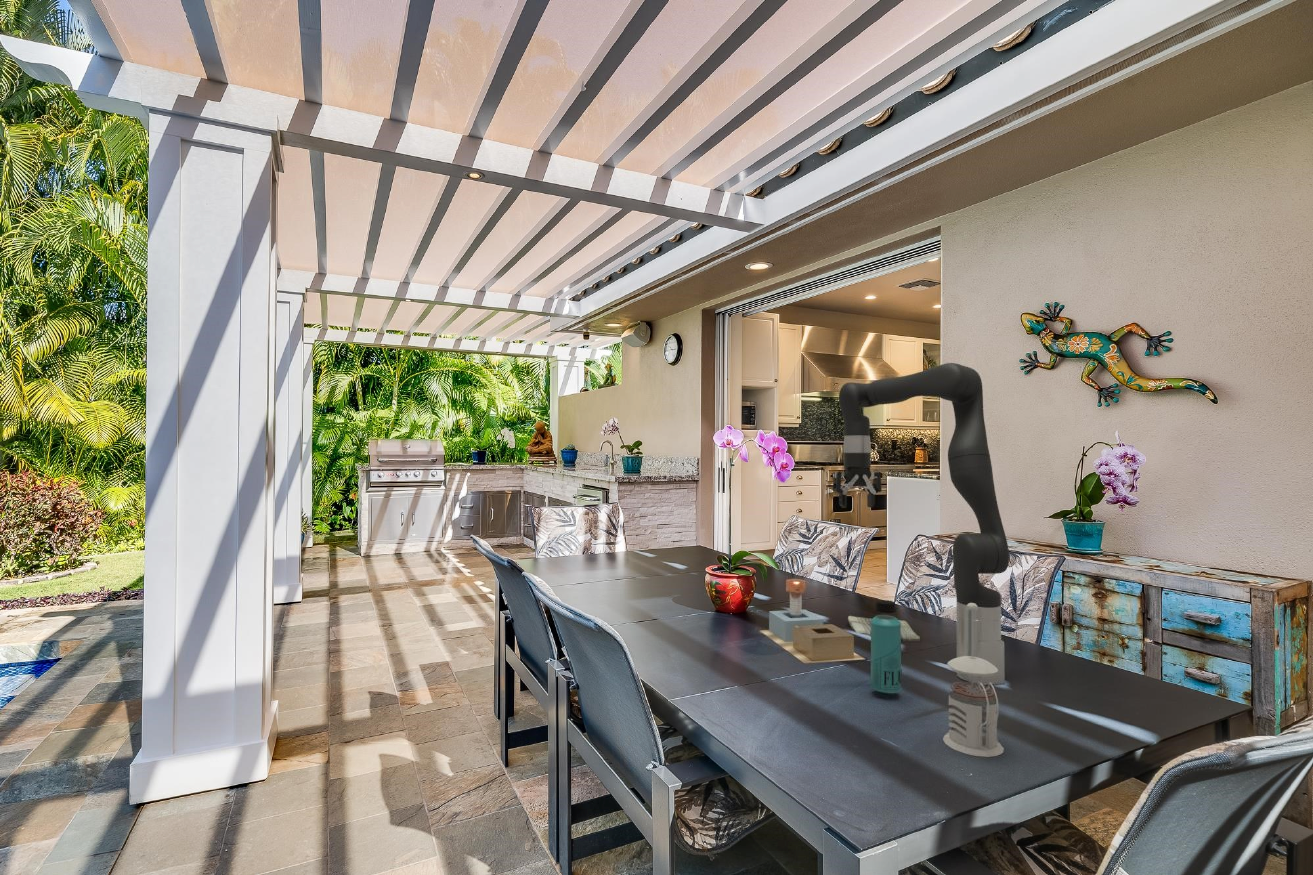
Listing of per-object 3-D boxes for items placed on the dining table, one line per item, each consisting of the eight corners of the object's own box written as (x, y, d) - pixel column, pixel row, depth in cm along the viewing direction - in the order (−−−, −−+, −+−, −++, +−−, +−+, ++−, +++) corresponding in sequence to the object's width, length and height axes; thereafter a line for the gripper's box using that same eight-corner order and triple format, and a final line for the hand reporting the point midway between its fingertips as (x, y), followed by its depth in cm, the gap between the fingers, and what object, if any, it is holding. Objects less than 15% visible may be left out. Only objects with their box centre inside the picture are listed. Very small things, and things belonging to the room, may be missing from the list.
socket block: (823, 639, 174) (823, 619, 174) (785, 642, 171) (785, 621, 171) (805, 628, 184) (805, 609, 185) (769, 630, 182) (769, 611, 182)
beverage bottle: (881, 702, 134) (881, 605, 135) (863, 690, 141) (863, 598, 141) (908, 699, 136) (908, 603, 136) (889, 688, 142) (889, 596, 143)
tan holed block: (853, 658, 158) (853, 635, 158) (812, 661, 156) (812, 638, 156) (832, 645, 169) (832, 624, 169) (793, 647, 166) (793, 626, 167)
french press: (984, 731, 120) (984, 596, 121) (1022, 761, 109) (1021, 612, 109) (933, 732, 120) (932, 596, 120) (965, 761, 108) (964, 612, 109)
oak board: (865, 665, 158) (865, 659, 158) (804, 669, 154) (804, 663, 154) (811, 632, 186) (811, 627, 186) (759, 635, 182) (759, 630, 182)
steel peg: (808, 637, 176) (808, 582, 176) (790, 638, 175) (790, 582, 175) (800, 632, 181) (800, 578, 181) (782, 633, 180) (783, 579, 180)
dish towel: (922, 644, 177) (922, 632, 177) (855, 640, 180) (855, 629, 180) (907, 626, 196) (907, 615, 196) (846, 623, 199) (846, 613, 199)
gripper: (841, 451, 182) (841, 508, 182) (886, 451, 185) (886, 508, 185) (828, 451, 190) (828, 506, 189) (872, 451, 193) (872, 506, 192)
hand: (857, 507), depth 187 cm, fingers open, 8 cm apart
